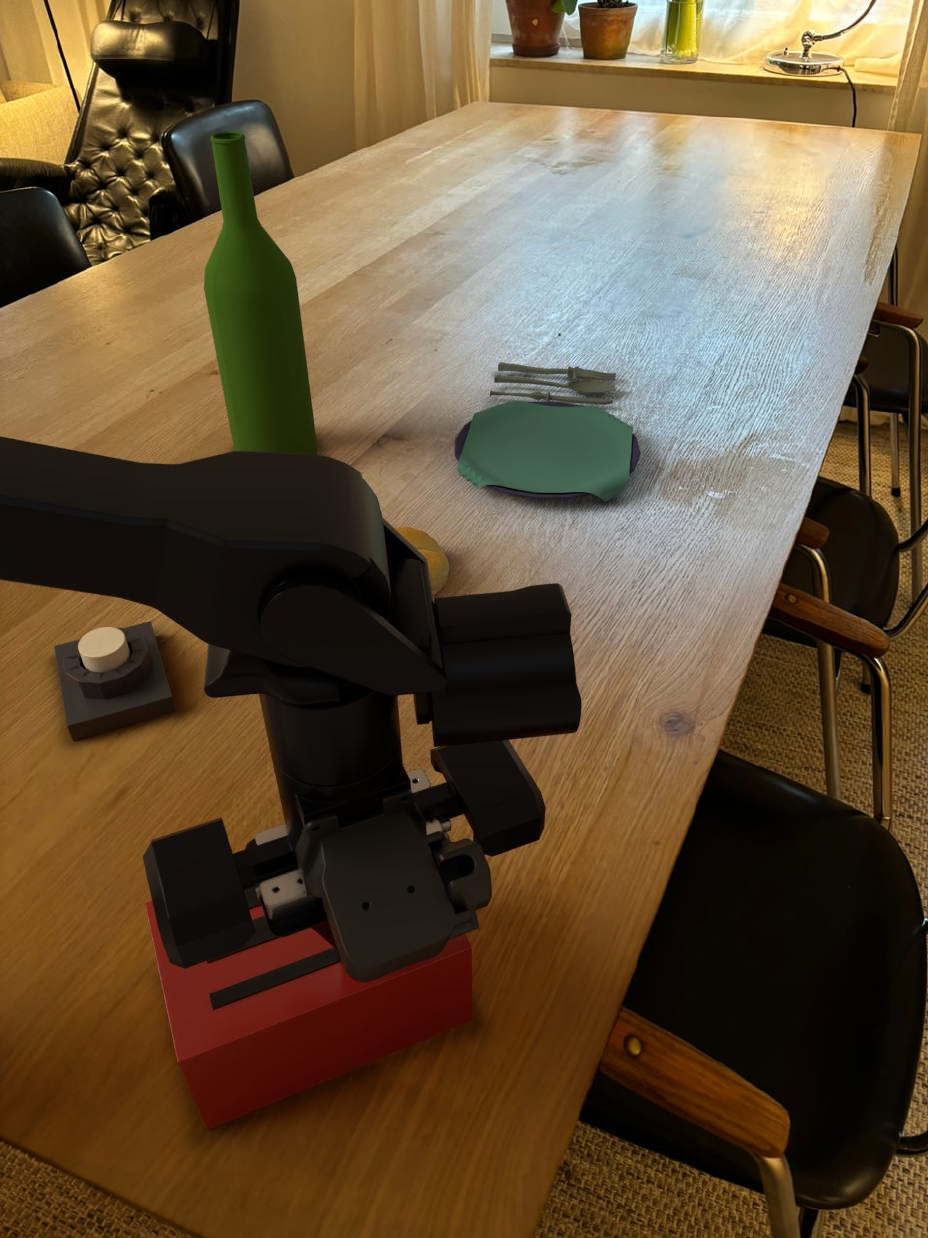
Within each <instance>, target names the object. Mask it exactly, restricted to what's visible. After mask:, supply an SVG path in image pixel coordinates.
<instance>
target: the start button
mask: <svg viewBox="0 0 928 1238" xmlns="http://www.w3.org/2000/svg"><path fill="white" fill-rule="evenodd" d="M114 627H115V626H102V627H98V628H95V629H92V630H90V631H88V632H86V634H84V635H83V636H82V637H80V638H81V640H80V641H79V644H78V649H79V652H80V655H81V658H82V660H83V663H84V666H85V667H86V668H87V669H88V670H90V671H92V672H102V673H103V672H106V671H110V670H114V669H117V668H118V667H119V666H121V665H122V664H124V663H125V662H127V660H128V659H129V656H130V650H129V647H128V644H127V641H126V638H125V635H124V633H123V632H122V631H121V630H119V629H117V628H118V627H117V628H114Z"/></svg>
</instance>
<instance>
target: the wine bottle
mask: <svg viewBox="0 0 928 1238" xmlns="http://www.w3.org/2000/svg"><path fill="white" fill-rule="evenodd" d="M210 142H211V147H212V154H213V161H214V167H215V173H216V174H215V175H216V181H217V187H218V194H219V201H220V207H221V214H222V220H223V222H222V227H221V230H220V232H219V234H218V237H217V239H216V241H215V244H214V246H213V248H212V251H211V253H210V255H209V258H208V260H207V263H206V265H205V267H204V274H203V275H204V276H203V278H204V279H203V291H204V296H205V302H206V308H207V313H208V318H209V324H210V328H211V329H210V330H211V333H212V339H213V344H214V350H215V355H216V359H217V365H218V370H219V371H218V372H219V377H220V382H221V387H222V388H221V389H222V392H223V399H224V404H225V408H226V413H227V420H228V424H229V430H230V434H231V435H230V436H231V440H232V446H233V451H251V452H273V453H294V454H314V455H318V454H317V453H318V441H317V434H316V425H315V417H314V409H313V402H312V392H311V386H310V385H311V384H310V378H309V368H308V362H307V353H306V345H305V338H304V336H305V335H304V330H303V322H302V314H301V305H300V298H299V297H300V296H299V288H298V281H297V275H296V273H295V269H294V267H293V264H292V262H291V261H290V259H289V257H287V256H286V254H285V253H284V252H283V251H282V249H281V248H280V247H279V245H278V244H277V243H276V242H275V240H274V239H273V238H272V237H271V235H270V234H269V232H267V230H266V229H265V227H264V226H263V225H262V223H261V222H260V219H259V218H258V213H257V207H256V200H255V194H254V189H253V181H252V176H251V168H250V163H249V156H248V151H247V146H246V145H247V143H246V136H245V134H244V133H242V132H240V131H236V130H225V131H224V130H223V131H219V132H216V133H214V134H212V135H211V136H210Z"/></svg>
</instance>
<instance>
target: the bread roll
mask: <svg viewBox="0 0 928 1238" xmlns="http://www.w3.org/2000/svg"><path fill="white" fill-rule="evenodd" d="M394 528H395V529H396V530H397V531H398V532H399V533H400V534H401V535H402V536H403V537H404V538H405V539H406V540H407V541H408V542H410V543H411V544H412V545H413V546H414V547H415V548H416V549H417V550H418V551H419V552H420V553H421V554H422V555H423V556H424V557H426V559H427V562H428V568H429V574H430V580H431V586H432V592H433V596H434V595H436V594H437V593H438V592H439V591H440V590H441V589H442V588H443V587H444V586H445V585H446V583H447V582H448V581H447V580H448V577H449V572H450V563H449V560H448V558H447V556H446V555H445V552H444V551H443V549H442V547H441V546H440V544H439V543H438V542H437V541H436V540H435V539H434V538H433V537H431V536H430V535H429V533H427V532H425V531H423V530H421V529H418V528H414V527H410V526H396V527H394Z"/></svg>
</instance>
